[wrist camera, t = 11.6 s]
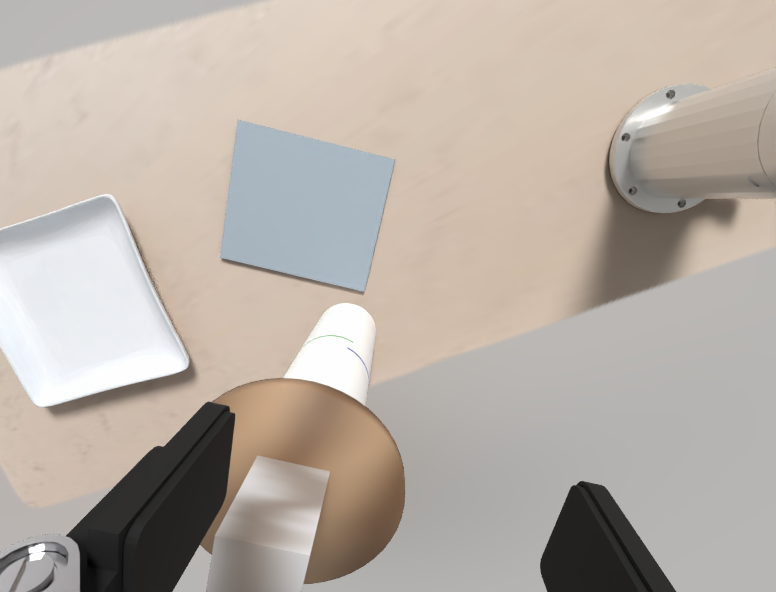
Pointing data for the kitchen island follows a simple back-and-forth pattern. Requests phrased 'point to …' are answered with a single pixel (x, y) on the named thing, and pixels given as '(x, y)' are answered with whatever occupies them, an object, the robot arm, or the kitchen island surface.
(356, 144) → the kitchen island surface
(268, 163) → the mat
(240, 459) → the lid
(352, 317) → the cylindrical container
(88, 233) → the salad plate
